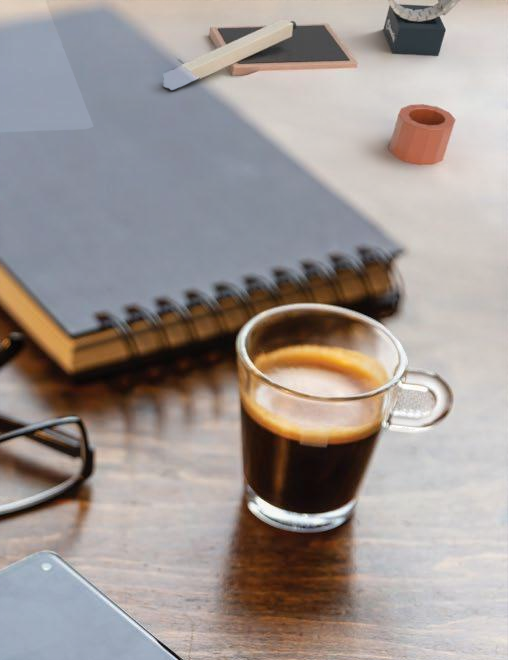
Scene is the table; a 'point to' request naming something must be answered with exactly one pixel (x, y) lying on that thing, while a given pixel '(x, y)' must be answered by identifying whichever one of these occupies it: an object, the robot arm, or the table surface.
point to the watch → (416, 27)
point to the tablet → (288, 49)
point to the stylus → (240, 48)
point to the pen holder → (421, 134)
